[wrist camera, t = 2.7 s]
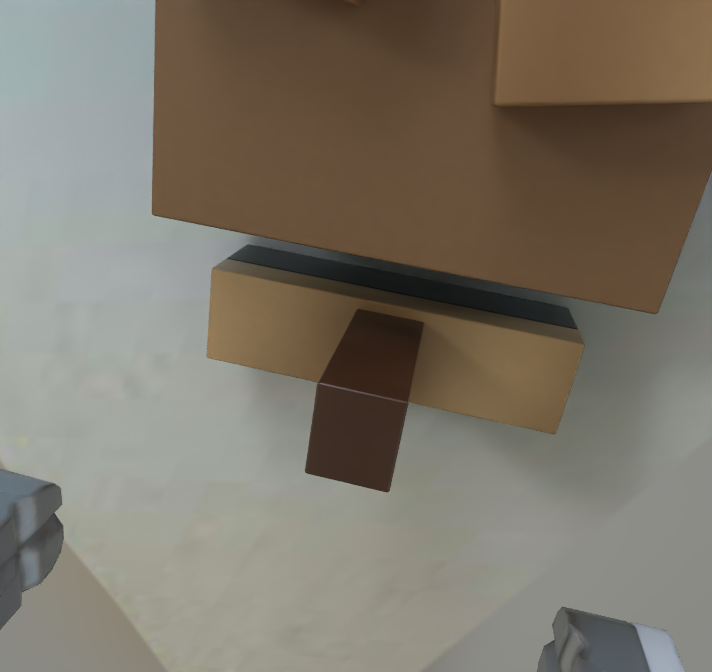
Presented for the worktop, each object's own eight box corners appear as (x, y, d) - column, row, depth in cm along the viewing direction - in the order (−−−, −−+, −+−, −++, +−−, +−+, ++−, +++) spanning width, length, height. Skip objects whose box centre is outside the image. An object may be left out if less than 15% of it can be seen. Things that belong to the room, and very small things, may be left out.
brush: (568, 307, 20) (629, 437, 12) (543, 387, 21) (585, 552, 13) (247, 243, 21) (122, 326, 13) (241, 323, 22) (122, 440, 14)
